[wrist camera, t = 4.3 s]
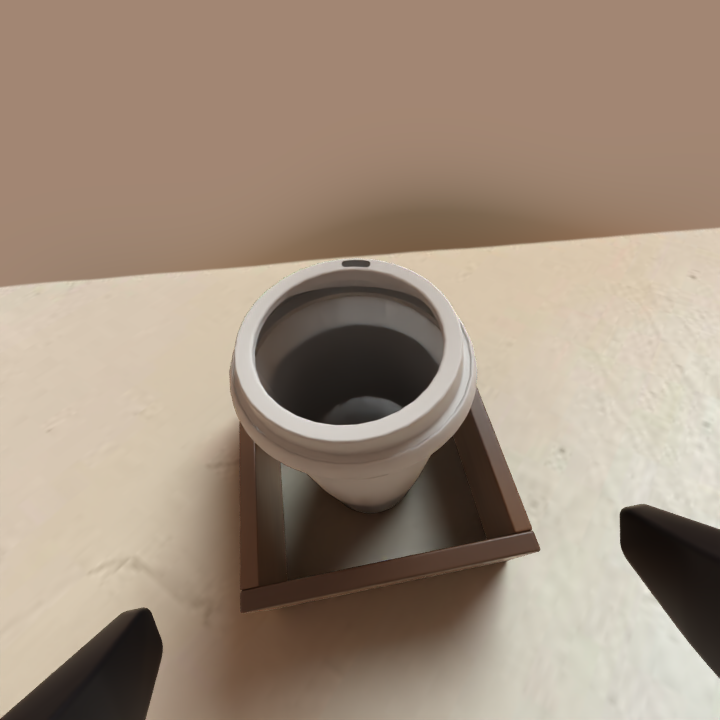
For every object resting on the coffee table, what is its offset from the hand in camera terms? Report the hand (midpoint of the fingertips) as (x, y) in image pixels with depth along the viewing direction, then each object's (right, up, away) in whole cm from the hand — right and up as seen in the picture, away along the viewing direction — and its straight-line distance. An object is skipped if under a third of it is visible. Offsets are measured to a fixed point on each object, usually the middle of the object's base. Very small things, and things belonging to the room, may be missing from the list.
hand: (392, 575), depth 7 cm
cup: (0, -2, +13) cm, 13 cm away
